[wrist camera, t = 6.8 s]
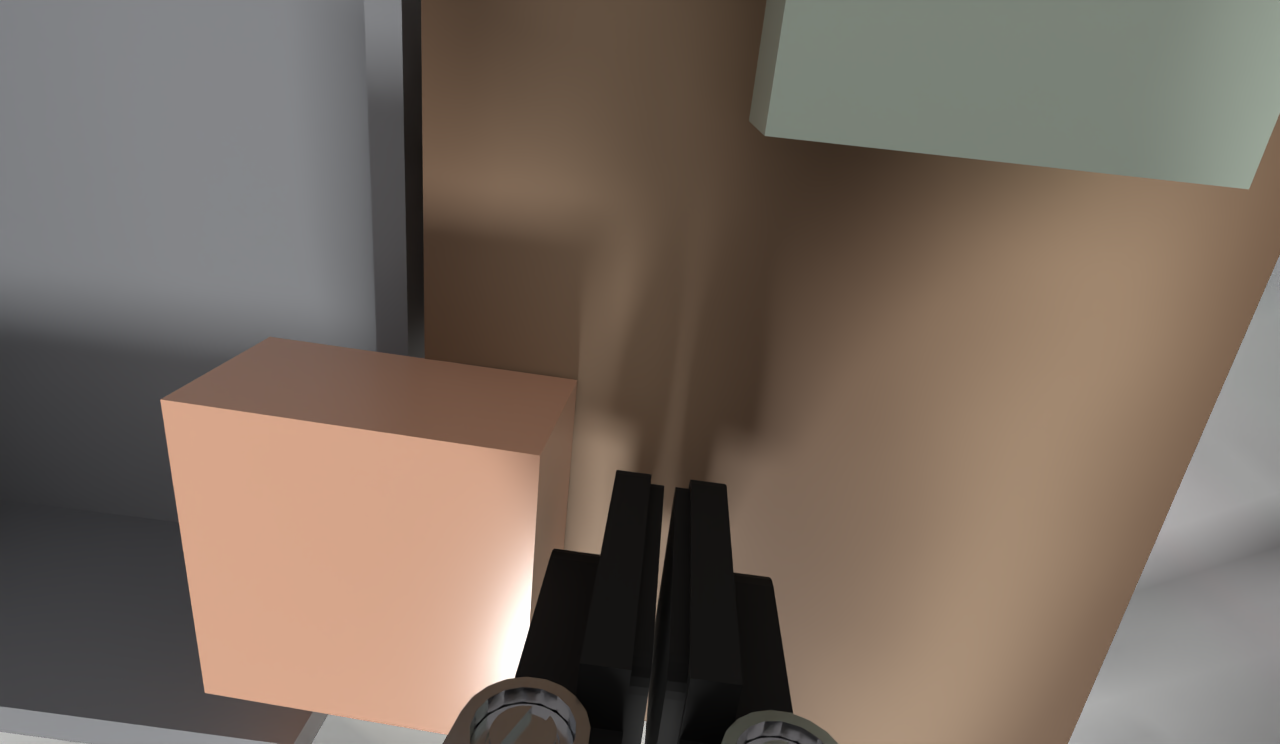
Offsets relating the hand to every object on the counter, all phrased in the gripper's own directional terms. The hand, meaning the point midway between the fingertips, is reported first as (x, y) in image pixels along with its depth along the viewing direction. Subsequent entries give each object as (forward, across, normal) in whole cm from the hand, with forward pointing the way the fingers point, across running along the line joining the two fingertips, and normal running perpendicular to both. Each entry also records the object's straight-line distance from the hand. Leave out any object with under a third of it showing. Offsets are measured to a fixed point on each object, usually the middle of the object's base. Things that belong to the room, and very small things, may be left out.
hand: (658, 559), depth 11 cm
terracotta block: (+1, +4, 0) cm, 4 cm away
